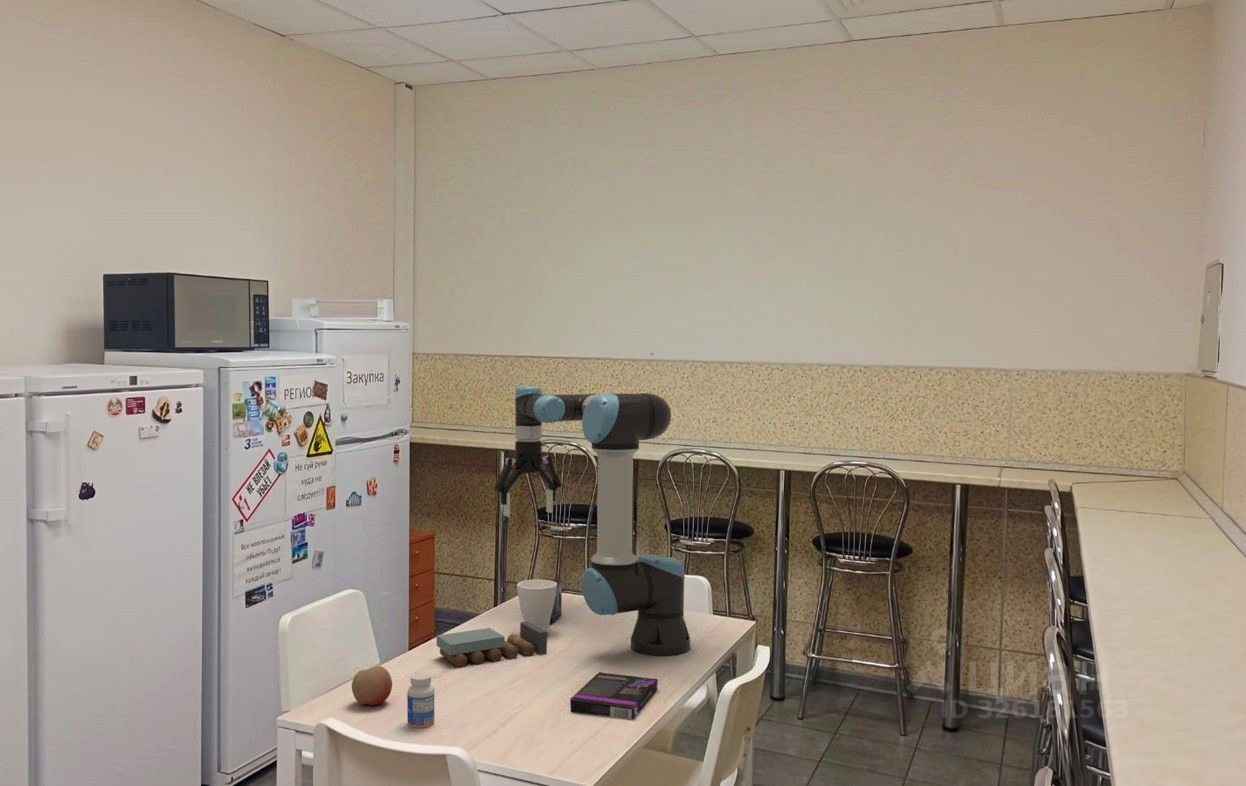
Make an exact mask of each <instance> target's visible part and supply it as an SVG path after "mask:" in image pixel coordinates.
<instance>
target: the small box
mask: <svg viewBox="0 0 1246 786" xmlns="http://www.w3.org/2000/svg"><path fill="white" fill-rule="evenodd" d="M540 580H550V581H554V582H556V583H557V590H556V597H555V602H554V607H553V610H552V614H551V618H550V623H549V626H550V625H553V624H554V623H555V622H556V621H558V619H559V618H560V617H561V616H562V603H563V601H562V600H563V599H562V593H563V591H562V590H563V588H562V587H563V585H562V584H563V580H562V579H555V578H554V579H553V578H552V579H551V578H545V577H544V578H541V579H540Z"/></svg>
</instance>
